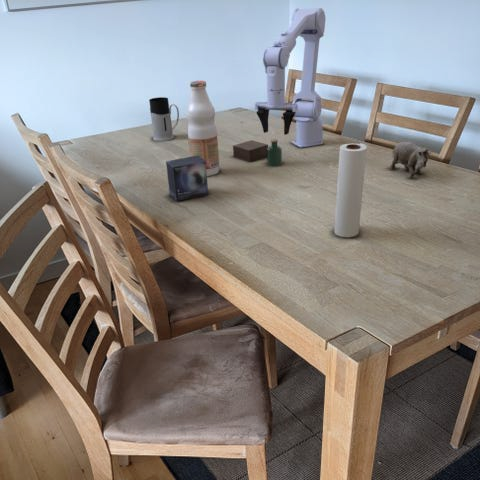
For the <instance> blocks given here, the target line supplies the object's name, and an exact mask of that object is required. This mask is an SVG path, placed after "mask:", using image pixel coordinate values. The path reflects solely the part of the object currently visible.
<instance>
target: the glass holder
mask: <svg viewBox="0 0 480 480" xmlns="http://www.w3.org/2000/svg"><path fill="white" fill-rule="evenodd" d="M148 102H149V112H150V118H151V120H150V121H151V126H152V134H153V137H152V140H153V141H155V142H166V141H171V140H173V139H174V138H175V136H174V134H173V130H174V129H175V128H176V126H177V125H178V123H179V119H180V112H179V108H178V105H176V104H174V103H172V104H170V103H169V98H168V97H165V96H164V97H163V96H161V97H160V96H159V97H152V98H149V100H148ZM172 106H173V107H175V109H176V115H177V116H176V122H175V124H174V125H173V126H172V117H171V115H172Z"/></svg>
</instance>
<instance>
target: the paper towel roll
mask: <svg viewBox="0 0 480 480" xmlns="http://www.w3.org/2000/svg"><path fill="white" fill-rule="evenodd" d="M367 149H368V148H367V145H366V144H364V143H363V142H360V143H345V144H342V145H340V146H339V157H338V171H337V183H336V184H337V185H336V200H335V201H336V202H335V217H334V229H333V230H334V231H333V232H334V234H335V235H336V236H337V237H341V238H353V237H356V236H357V235H359V232H360V221H361V212H362V202H363V191H364V180H365V172H366V171H365V170H366V160H367Z"/></svg>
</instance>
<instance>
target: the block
mask: <svg viewBox="0 0 480 480" xmlns="http://www.w3.org/2000/svg"><path fill="white" fill-rule="evenodd" d="M267 148H269V144H267V143H264V142H259V141H256V140H253V139H251V140H247V141H244V142H240V143H237V144H234V145H232V152H233V154H232V155H233V157H234V158H236V159H239V160H243V161H245V162H249V163H251V162H254V161H257V160H261V159H263V158H267Z"/></svg>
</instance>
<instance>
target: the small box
mask: <svg viewBox="0 0 480 480" xmlns="http://www.w3.org/2000/svg"><path fill="white" fill-rule="evenodd" d="M165 165H166V174H167V182H168V193H169V194H168V195H169V196H170V197H171V198H173V199H174V200H175V201H176V202H179V201H180V202H181V201H183V200H189V199H194V198H198V197H202V196H207V195H209V187H208V186H209V185H208V176H207V170H206V161H205V160H204V159H202V158H201V157H199V156H198V155H197V156H192V157H190V156H186V157H182V158H177V159H172V160H171V159H170V160H167V161H165Z"/></svg>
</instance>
